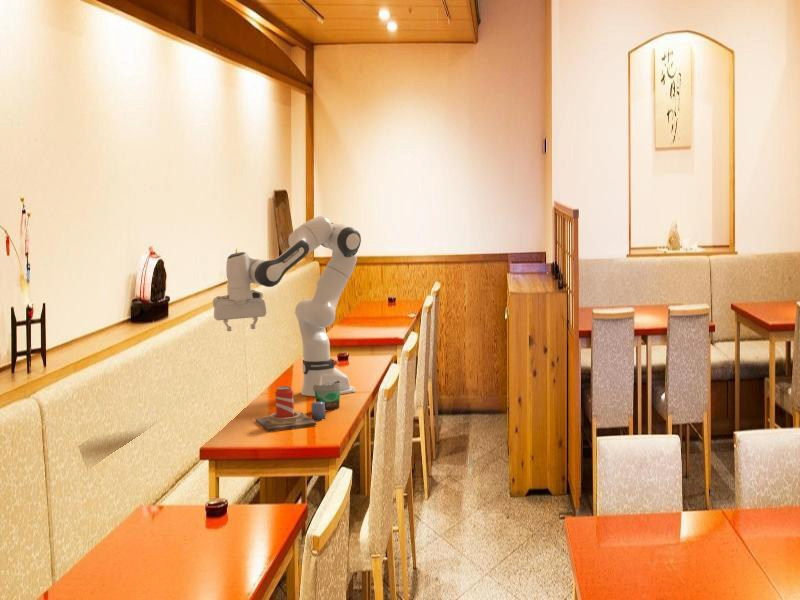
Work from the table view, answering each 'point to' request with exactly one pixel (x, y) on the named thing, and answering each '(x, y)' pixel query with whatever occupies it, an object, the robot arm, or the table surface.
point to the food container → (328, 395)
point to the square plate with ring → (284, 422)
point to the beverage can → (284, 402)
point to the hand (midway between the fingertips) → (241, 329)
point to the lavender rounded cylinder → (318, 410)
